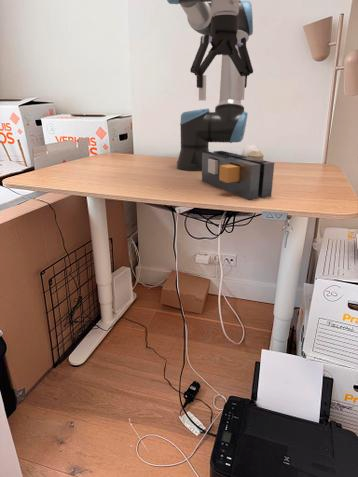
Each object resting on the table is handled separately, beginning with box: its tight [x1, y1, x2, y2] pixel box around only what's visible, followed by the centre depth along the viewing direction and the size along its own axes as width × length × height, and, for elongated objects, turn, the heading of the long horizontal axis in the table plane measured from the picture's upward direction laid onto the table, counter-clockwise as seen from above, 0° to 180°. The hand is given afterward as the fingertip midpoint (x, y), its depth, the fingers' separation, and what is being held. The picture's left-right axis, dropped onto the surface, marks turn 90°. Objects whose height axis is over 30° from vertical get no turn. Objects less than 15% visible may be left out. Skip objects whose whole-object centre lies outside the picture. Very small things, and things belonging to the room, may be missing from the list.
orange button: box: [219, 164, 240, 183], centre depth 101 cm, size 4×4×4 cm
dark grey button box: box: [201, 150, 275, 201], centre depth 108 cm, size 8×28×10 cm, turn 26°
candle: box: [248, 150, 264, 160], centre depth 121 cm, size 6×6×10 cm
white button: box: [208, 158, 219, 174], centre depth 112 cm, size 4×4×4 cm
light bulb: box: [241, 143, 260, 157], centre depth 130 cm, size 7×7×11 cm
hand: (221, 100), depth 100 cm, fingers open, 13 cm apart
